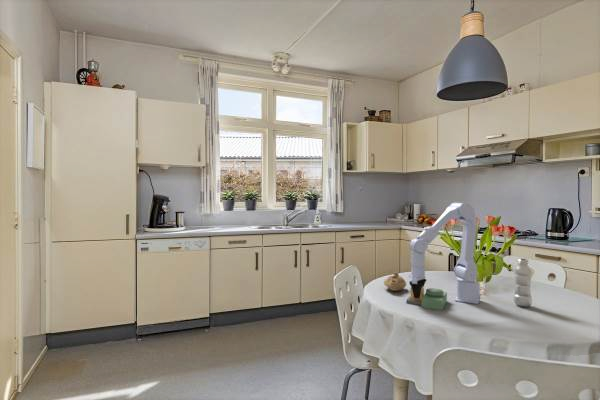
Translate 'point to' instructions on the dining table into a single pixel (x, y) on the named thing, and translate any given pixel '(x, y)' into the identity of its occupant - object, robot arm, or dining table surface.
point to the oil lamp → (395, 282)
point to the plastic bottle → (522, 284)
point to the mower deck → (431, 299)
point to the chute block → (420, 294)
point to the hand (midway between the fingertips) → (418, 296)
